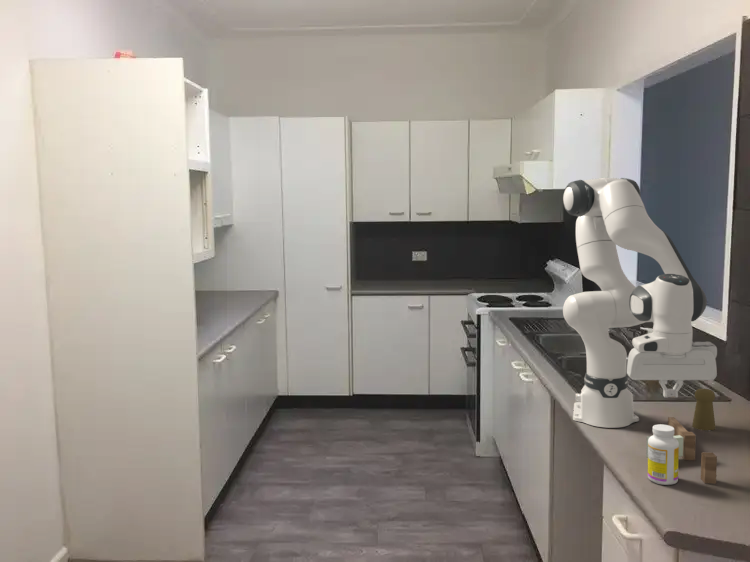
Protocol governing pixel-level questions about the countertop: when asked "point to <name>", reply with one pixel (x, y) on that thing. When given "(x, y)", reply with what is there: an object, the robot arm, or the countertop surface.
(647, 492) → the countertop surface
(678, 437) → the pale green flat block
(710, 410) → the cork
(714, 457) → the fence
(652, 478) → the supplement bottle
